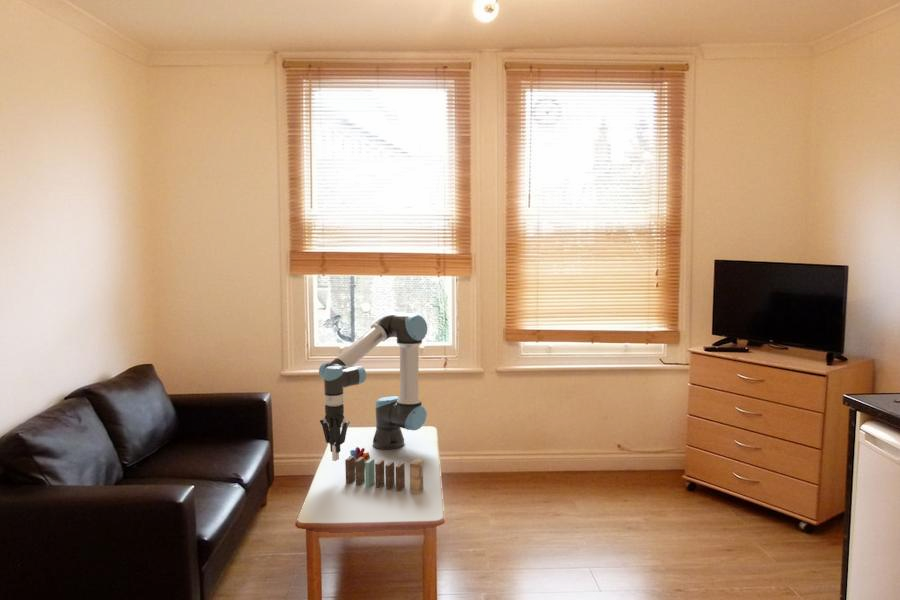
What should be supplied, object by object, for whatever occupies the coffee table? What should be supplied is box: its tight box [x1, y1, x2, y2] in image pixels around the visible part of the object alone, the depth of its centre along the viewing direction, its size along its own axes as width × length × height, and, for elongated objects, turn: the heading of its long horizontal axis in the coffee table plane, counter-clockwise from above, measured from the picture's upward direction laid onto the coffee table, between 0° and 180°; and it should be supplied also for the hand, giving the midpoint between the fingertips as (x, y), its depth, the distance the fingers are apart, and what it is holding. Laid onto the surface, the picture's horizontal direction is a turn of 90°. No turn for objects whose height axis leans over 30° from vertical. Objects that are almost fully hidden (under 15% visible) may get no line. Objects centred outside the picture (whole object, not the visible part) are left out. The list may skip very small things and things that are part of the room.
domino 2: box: [355, 457, 365, 486], centre depth 250 cm, size 2×5×10 cm, turn 160°
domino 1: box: [344, 455, 356, 485], centre depth 251 cm, size 2×5×10 cm, turn 160°
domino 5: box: [395, 461, 406, 492], centre depth 243 cm, size 2×5×10 cm, turn 160°
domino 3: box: [374, 459, 386, 489], centre depth 246 cm, size 2×5×10 cm, turn 160°
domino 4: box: [384, 460, 396, 491], centre depth 245 cm, size 2×5×10 cm, turn 160°
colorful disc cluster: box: [348, 446, 371, 462], centre depth 272 cm, size 8×10×7 cm
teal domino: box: [364, 457, 375, 488], centre depth 248 cm, size 2×5×10 cm, turn 160°
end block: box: [409, 458, 424, 495], centre depth 241 cm, size 5×4×12 cm
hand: (335, 459), depth 253 cm, fingers closed
